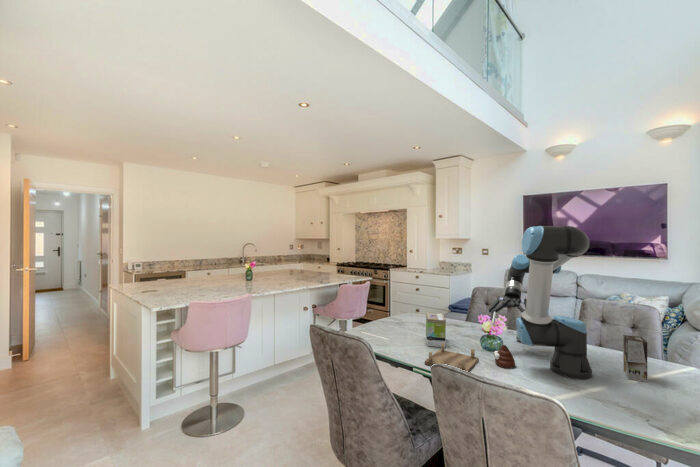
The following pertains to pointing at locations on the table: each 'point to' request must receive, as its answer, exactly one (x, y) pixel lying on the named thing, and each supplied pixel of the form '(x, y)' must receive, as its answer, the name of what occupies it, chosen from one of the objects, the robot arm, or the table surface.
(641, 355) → the coffee box
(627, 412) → the table surface
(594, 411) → the table surface
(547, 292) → the robot arm
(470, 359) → the stand
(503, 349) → the poop emoji
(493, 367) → the table surface
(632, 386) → the table surface
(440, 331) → the tea box
